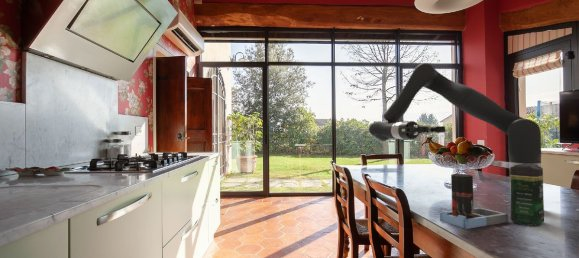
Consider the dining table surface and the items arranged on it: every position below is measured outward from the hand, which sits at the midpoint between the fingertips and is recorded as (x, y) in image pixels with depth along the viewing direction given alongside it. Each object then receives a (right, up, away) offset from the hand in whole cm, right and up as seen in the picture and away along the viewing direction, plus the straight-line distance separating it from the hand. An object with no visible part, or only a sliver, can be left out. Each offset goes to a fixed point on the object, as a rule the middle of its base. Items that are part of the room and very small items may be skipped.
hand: (435, 129), depth 110 cm
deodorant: (+1, -30, -15) cm, 34 cm away
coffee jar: (+21, -29, -16) cm, 40 cm away
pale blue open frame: (+5, -30, -14) cm, 33 cm away
